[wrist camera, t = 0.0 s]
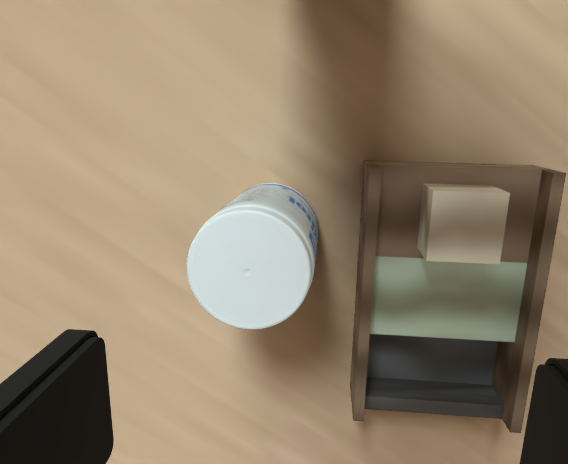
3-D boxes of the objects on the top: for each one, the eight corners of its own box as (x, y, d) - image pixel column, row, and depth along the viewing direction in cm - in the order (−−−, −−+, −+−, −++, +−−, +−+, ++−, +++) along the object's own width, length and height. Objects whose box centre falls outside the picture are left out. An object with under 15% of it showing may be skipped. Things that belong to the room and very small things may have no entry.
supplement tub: (337, 237, 47) (341, 289, 32) (264, 287, 49) (239, 357, 34) (280, 161, 45) (259, 181, 31) (208, 216, 47) (158, 258, 33)
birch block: (423, 183, 40) (433, 190, 37) (492, 185, 40) (510, 193, 36) (417, 247, 42) (426, 261, 38) (483, 250, 42) (499, 264, 38)
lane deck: (364, 160, 44) (369, 167, 39) (533, 165, 43) (566, 173, 37) (350, 385, 51) (353, 420, 45) (497, 395, 49) (520, 432, 44)
